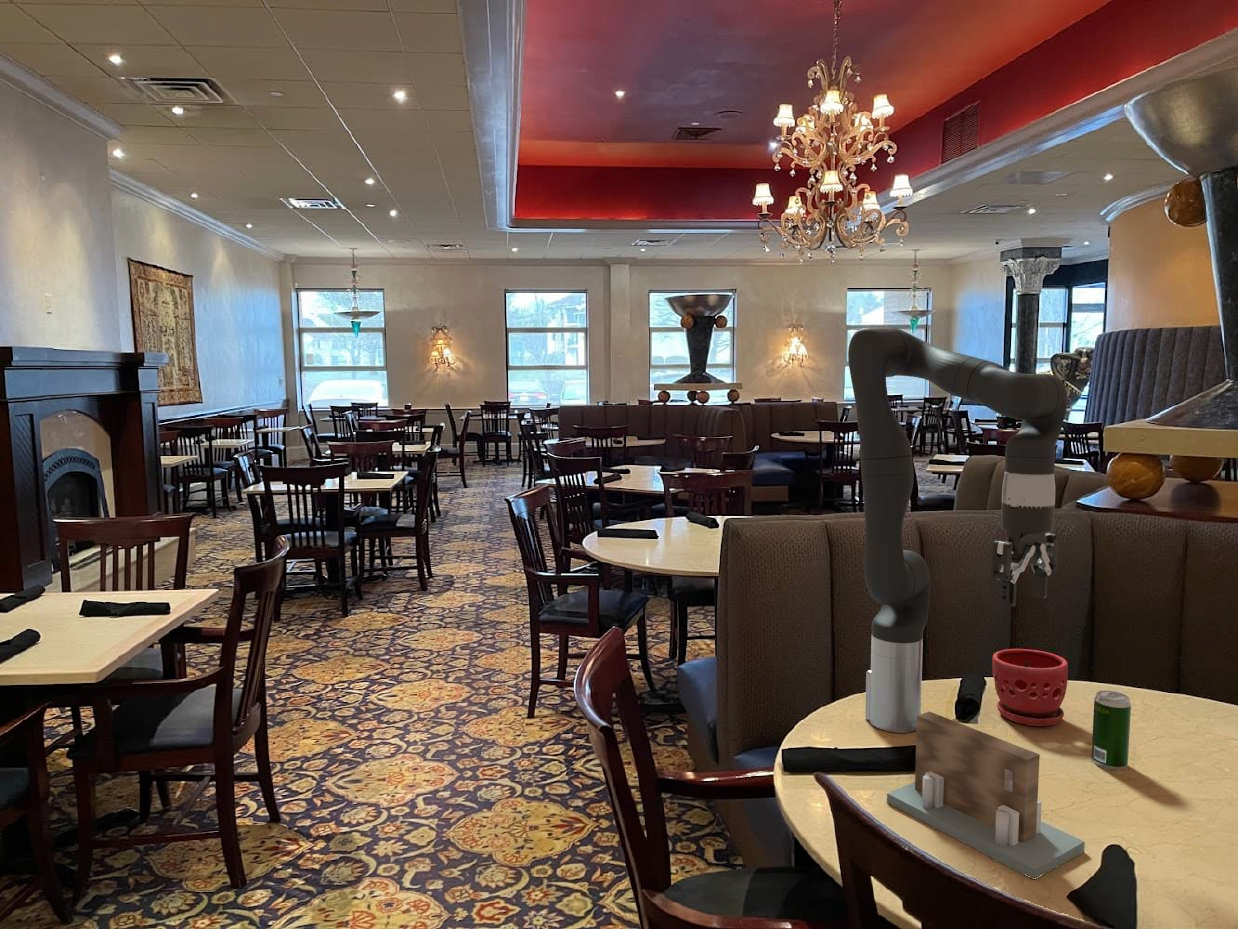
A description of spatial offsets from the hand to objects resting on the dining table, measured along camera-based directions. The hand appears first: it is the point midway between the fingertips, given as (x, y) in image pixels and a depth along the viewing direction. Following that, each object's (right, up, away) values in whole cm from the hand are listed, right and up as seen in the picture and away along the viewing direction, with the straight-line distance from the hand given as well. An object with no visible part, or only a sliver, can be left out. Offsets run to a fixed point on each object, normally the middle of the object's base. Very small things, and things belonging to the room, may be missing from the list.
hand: (1023, 601), depth 132 cm
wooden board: (-12, -30, -9) cm, 33 cm away
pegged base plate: (-11, -31, -10) cm, 35 cm away
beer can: (+19, -29, +9) cm, 36 cm away
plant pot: (+15, -27, +29) cm, 42 cm away
